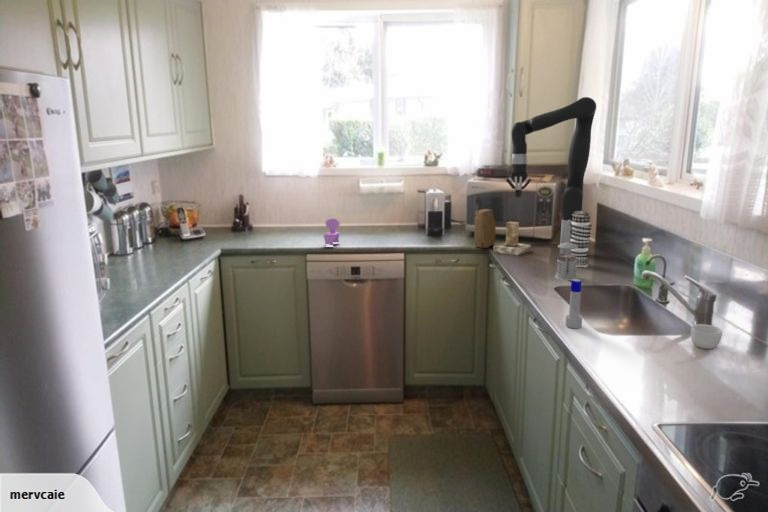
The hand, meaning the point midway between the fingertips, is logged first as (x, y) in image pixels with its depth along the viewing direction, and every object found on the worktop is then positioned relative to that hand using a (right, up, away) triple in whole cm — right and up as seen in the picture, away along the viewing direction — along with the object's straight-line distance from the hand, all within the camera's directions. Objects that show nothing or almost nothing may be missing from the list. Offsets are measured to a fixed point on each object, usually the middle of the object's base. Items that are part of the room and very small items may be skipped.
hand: (518, 197), depth 275 cm
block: (-14, -25, +15) cm, 33 cm away
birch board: (-3, -28, +3) cm, 28 cm away
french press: (+9, -40, -46) cm, 62 cm away
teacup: (+26, -57, -116) cm, 132 cm away
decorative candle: (+21, -35, -27) cm, 48 cm away
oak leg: (-3, -28, +3) cm, 28 cm away
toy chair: (-97, -25, +25) cm, 104 cm away
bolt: (-7, -53, -99) cm, 113 cm away
